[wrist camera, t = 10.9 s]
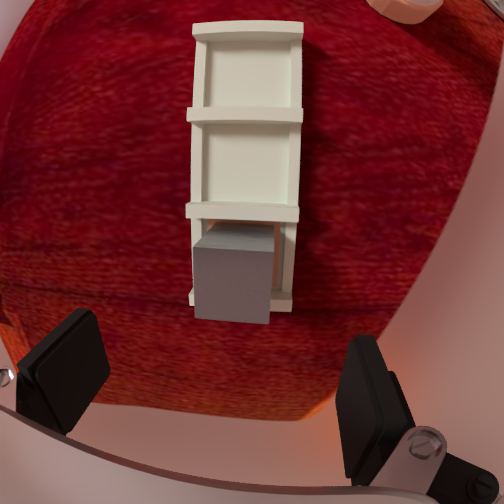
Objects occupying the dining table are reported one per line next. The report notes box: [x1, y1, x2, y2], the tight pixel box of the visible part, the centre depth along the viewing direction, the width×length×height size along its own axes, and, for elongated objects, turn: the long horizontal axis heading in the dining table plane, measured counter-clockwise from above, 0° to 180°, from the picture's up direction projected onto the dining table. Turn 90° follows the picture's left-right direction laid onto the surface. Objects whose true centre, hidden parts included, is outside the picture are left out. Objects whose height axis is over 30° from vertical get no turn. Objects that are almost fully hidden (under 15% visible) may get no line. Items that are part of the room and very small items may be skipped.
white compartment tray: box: [186, 20, 303, 312], centre depth 21 cm, size 8×22×3 cm, turn 178°
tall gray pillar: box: [193, 222, 274, 324], centre depth 20 cm, size 4×4×7 cm
